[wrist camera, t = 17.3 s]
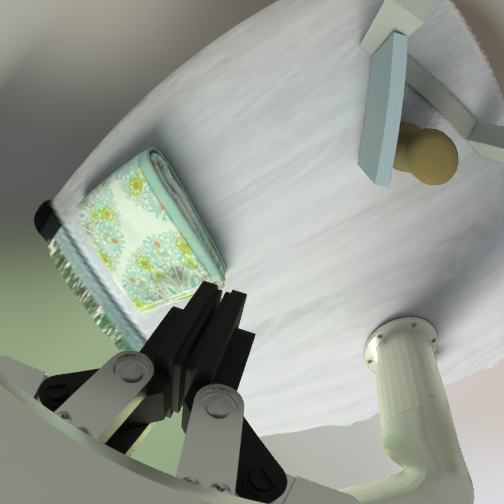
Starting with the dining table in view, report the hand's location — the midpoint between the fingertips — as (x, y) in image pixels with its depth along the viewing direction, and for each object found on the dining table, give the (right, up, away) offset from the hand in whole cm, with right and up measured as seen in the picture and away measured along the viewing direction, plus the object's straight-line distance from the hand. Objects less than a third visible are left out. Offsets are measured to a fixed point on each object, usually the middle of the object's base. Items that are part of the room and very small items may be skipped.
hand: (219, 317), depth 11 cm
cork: (+19, +15, +19) cm, 31 cm away
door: (+15, +18, +18) cm, 29 cm away
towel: (-14, +5, +32) cm, 35 cm away
